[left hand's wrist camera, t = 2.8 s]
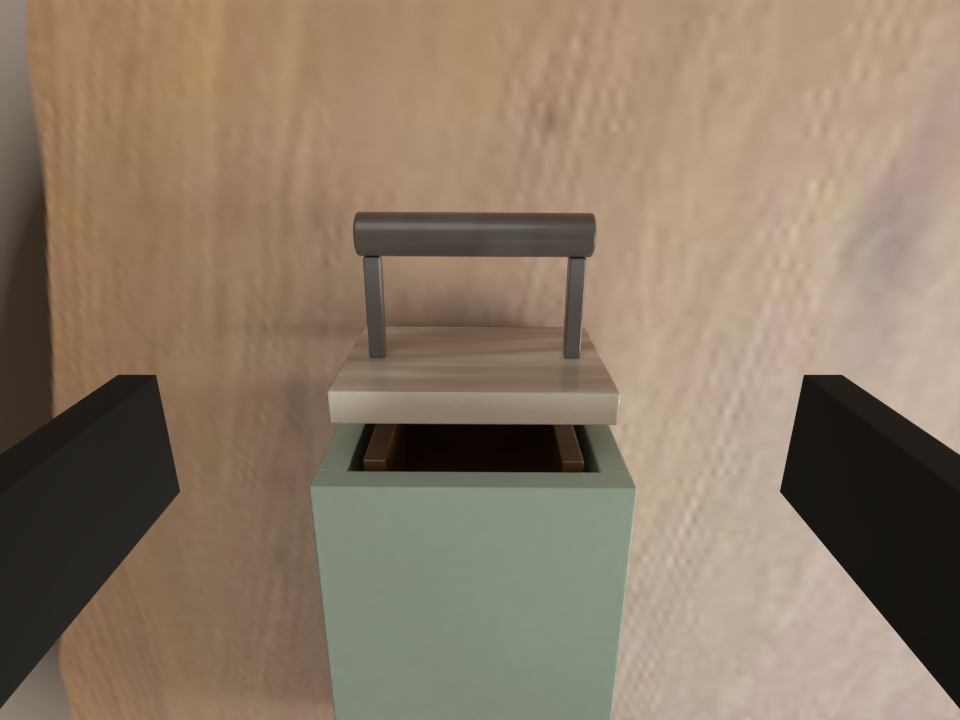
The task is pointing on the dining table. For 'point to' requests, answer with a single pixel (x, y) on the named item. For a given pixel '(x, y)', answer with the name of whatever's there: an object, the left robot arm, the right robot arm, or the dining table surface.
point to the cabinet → (473, 585)
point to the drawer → (474, 357)
